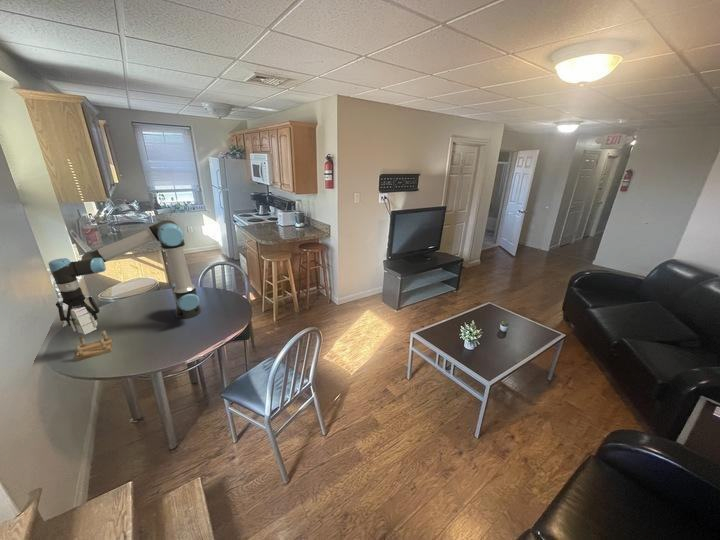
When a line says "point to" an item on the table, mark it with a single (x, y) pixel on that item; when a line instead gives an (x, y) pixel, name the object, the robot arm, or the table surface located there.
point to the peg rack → (93, 347)
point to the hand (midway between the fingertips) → (85, 327)
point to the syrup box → (82, 319)
